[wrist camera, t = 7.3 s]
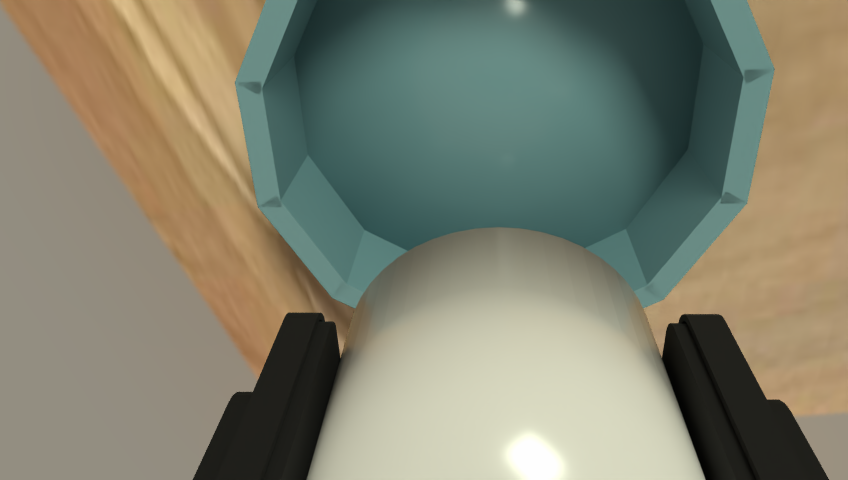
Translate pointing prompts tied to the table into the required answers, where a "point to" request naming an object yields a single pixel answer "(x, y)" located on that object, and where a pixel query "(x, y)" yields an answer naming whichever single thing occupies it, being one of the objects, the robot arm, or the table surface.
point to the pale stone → (501, 371)
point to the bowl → (503, 127)
